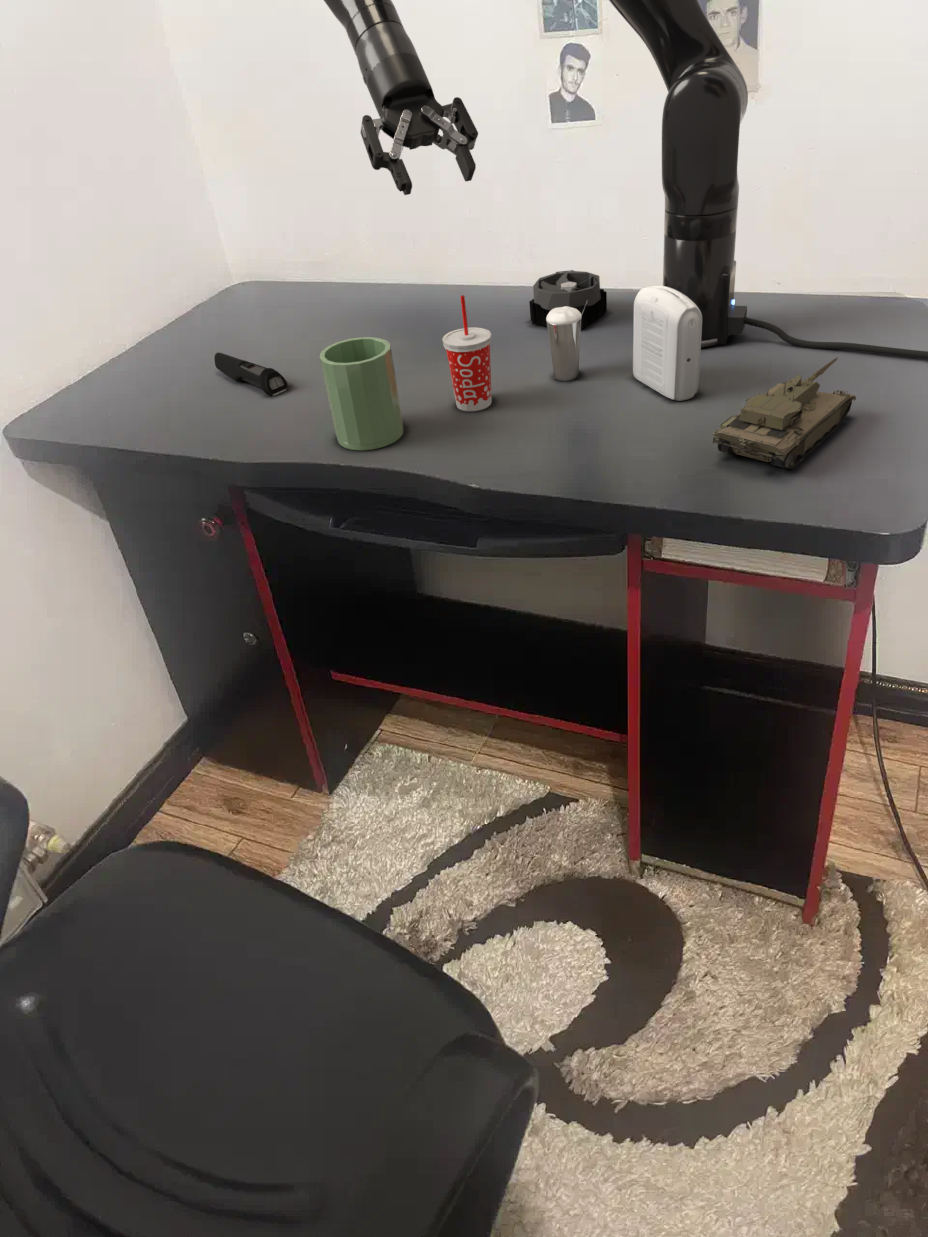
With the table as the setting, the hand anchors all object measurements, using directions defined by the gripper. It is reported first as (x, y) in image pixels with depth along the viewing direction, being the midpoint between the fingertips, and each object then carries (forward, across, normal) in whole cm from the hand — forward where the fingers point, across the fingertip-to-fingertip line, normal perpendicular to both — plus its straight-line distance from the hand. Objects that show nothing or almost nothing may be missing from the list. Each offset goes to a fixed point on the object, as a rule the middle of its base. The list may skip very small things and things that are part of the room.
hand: (440, 183), depth 116 cm
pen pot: (+26, -19, +7) cm, 33 cm away
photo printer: (+34, +18, 0) cm, 39 cm away
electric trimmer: (+7, -28, +27) cm, 39 cm away
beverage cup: (+26, -4, +8) cm, 28 cm away
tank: (+48, +21, -14) cm, 54 cm away
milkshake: (+27, +10, +7) cm, 29 cm away
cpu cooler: (+13, +21, +21) cm, 32 cm away
